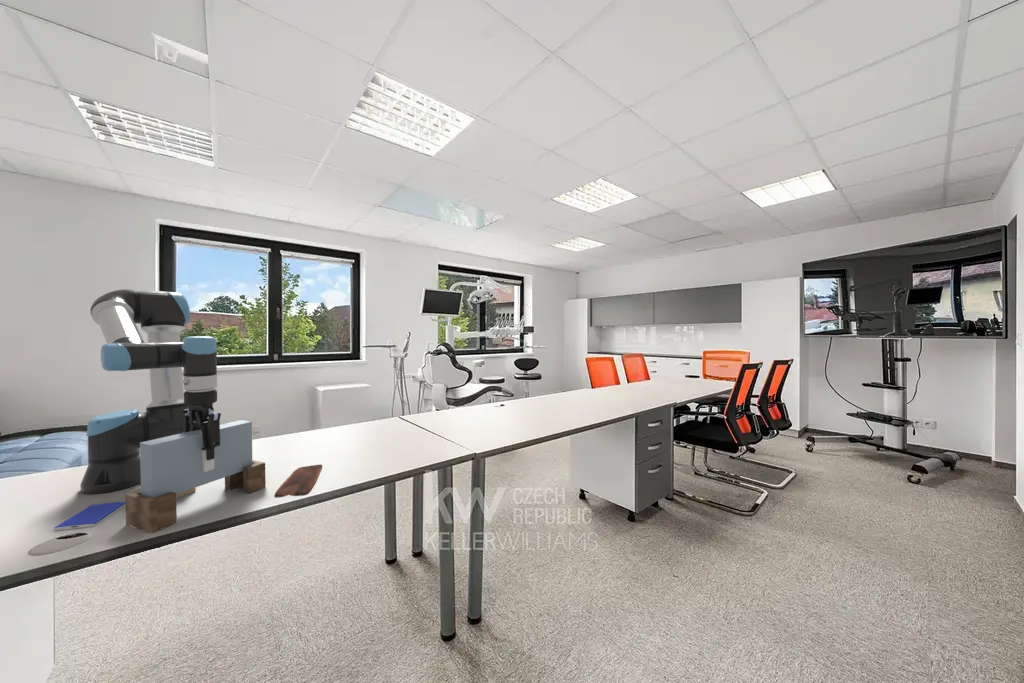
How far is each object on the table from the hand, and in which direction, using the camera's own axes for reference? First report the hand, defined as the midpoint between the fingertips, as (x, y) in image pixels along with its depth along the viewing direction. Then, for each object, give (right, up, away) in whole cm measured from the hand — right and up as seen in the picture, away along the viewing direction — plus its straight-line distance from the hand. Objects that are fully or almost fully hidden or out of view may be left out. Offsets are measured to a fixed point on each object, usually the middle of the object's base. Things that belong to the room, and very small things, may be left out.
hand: (202, 468), depth 111 cm
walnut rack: (0, -10, 0) cm, 10 cm away
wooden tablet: (+19, -11, +19) cm, 29 cm away
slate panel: (0, -4, 0) cm, 4 cm away
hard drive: (-23, -11, -8) cm, 27 cm away
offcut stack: (-14, -10, +6) cm, 18 cm away
